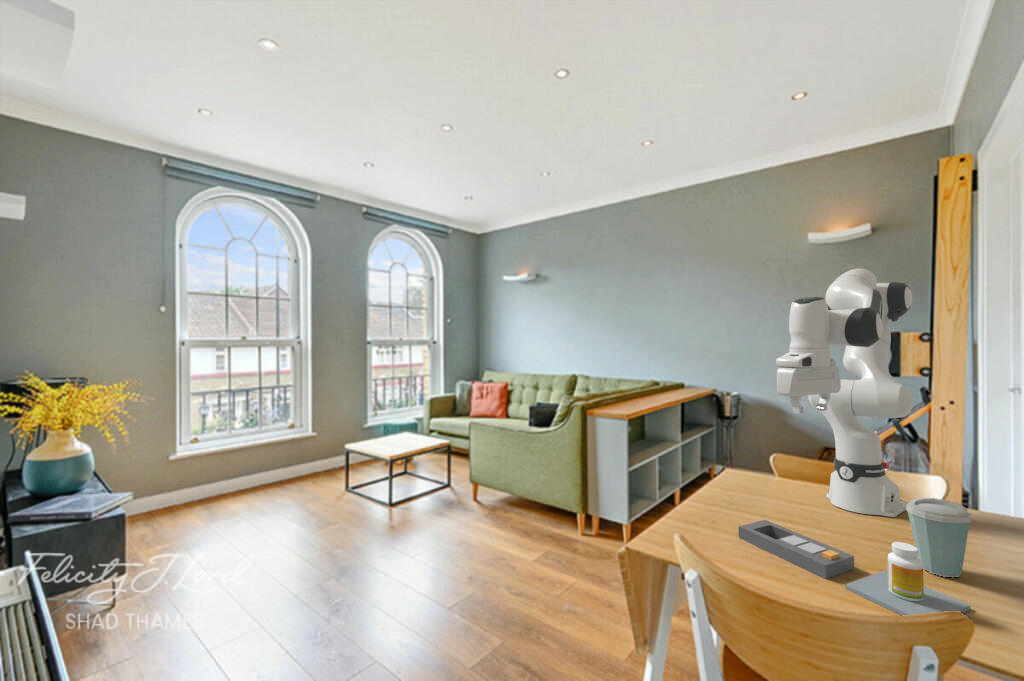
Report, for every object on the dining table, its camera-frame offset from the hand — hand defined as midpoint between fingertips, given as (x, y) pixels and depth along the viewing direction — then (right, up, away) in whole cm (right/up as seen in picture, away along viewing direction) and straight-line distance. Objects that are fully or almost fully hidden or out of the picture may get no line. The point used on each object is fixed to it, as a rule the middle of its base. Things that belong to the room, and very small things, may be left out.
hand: (810, 411), depth 115 cm
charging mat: (+1, -33, -27) cm, 43 cm away
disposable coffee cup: (+17, -33, -17) cm, 41 cm away
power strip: (-9, -33, -7) cm, 35 cm away
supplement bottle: (+1, -33, -27) cm, 42 cm away
